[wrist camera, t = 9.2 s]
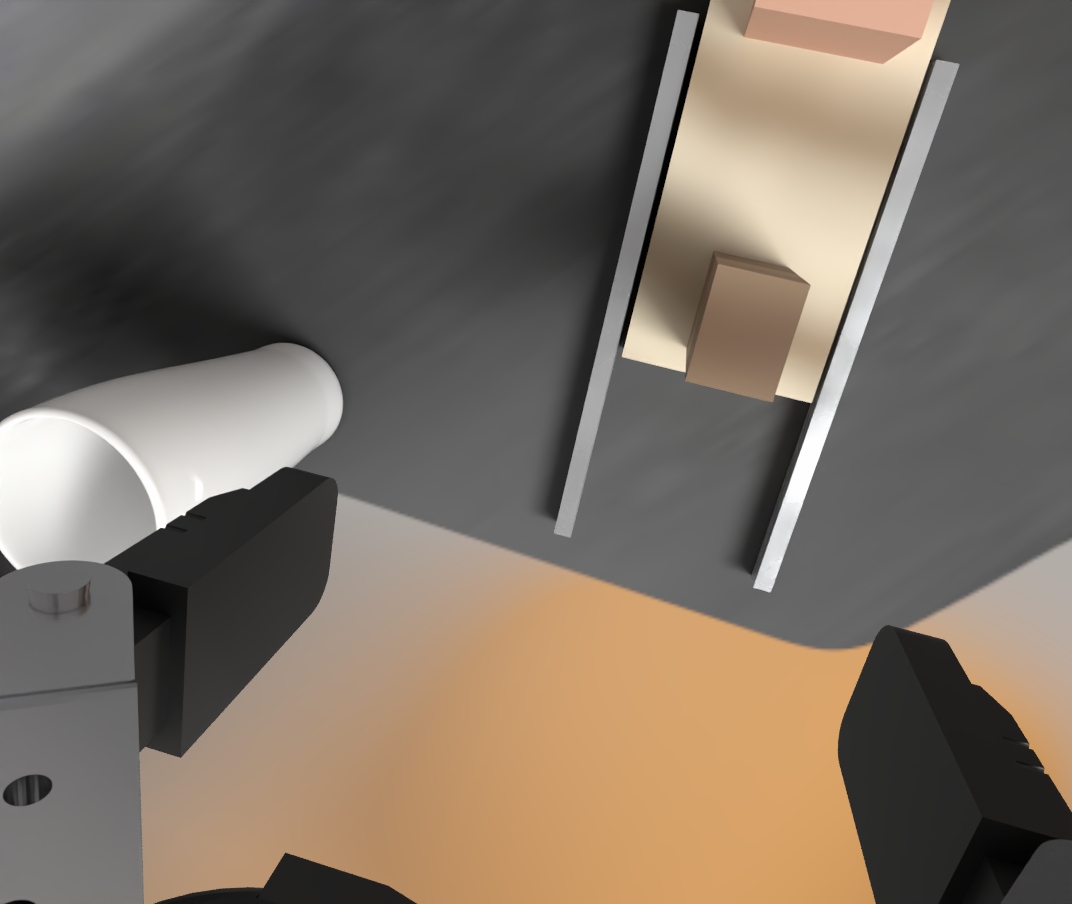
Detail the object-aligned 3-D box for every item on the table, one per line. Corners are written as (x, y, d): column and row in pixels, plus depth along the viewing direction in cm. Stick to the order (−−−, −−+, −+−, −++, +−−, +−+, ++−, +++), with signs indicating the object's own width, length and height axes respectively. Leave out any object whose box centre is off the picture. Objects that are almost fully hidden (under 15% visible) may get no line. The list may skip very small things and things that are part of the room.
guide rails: (678, 16, 30) (677, 9, 29) (949, 68, 29) (959, 64, 28) (557, 523, 37) (553, 533, 36) (768, 579, 36) (770, 592, 35)
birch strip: (779, -270, 26) (810, -435, 20) (1020, -234, 26) (1143, -393, 19) (624, 350, 34) (607, 390, 27) (806, 394, 33) (836, 448, 26)
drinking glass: (373, 455, 38) (190, 607, 24) (250, 463, 40) (10, 611, 26) (347, 318, 36) (130, 397, 22) (218, 331, 38) (-61, 414, 24)
